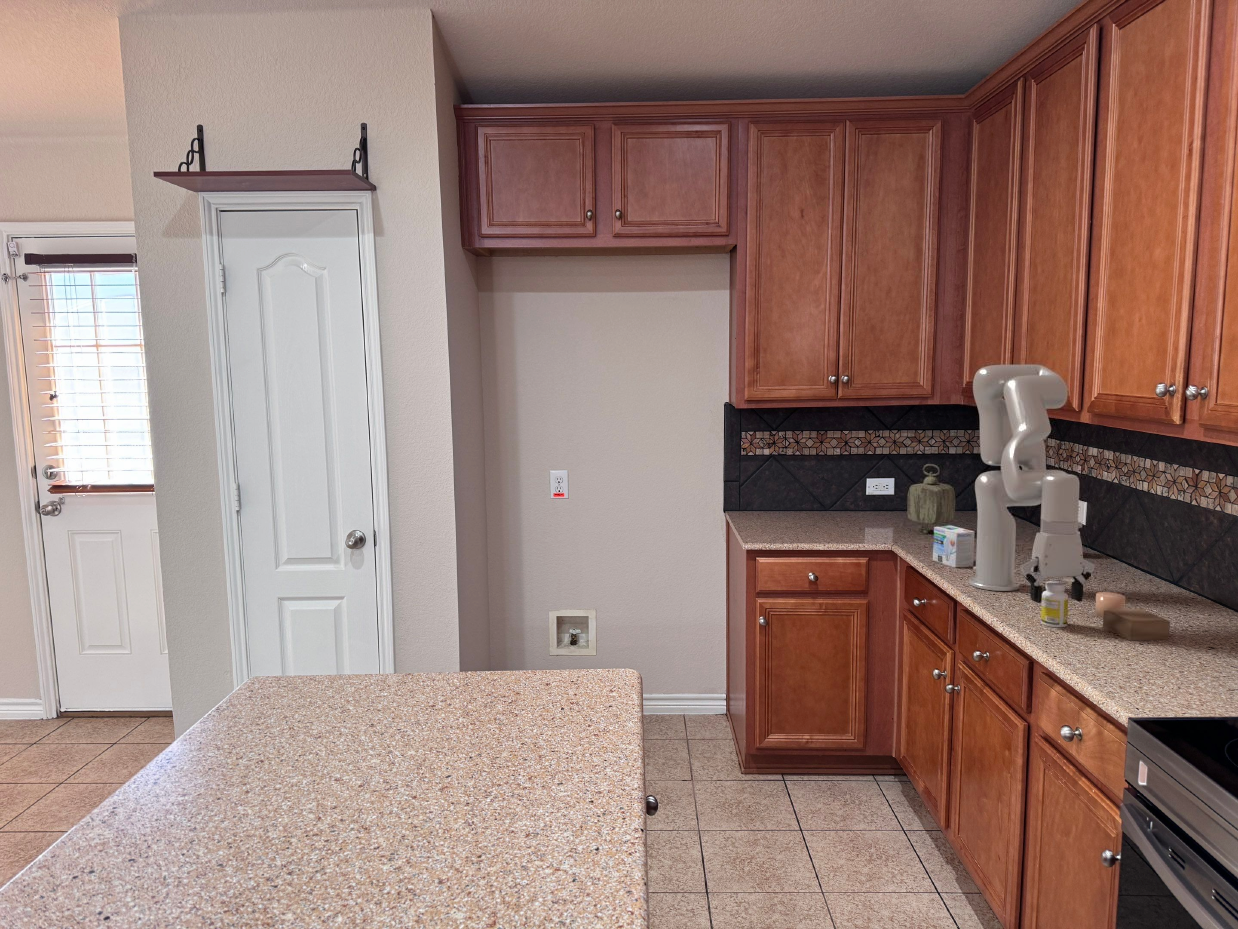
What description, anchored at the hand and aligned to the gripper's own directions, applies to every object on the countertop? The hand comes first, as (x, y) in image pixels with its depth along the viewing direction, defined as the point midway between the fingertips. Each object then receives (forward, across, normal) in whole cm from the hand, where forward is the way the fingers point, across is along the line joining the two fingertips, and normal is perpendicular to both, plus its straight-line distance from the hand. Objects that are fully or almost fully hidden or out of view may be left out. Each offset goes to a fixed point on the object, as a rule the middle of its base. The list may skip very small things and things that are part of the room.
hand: (1056, 600), depth 190 cm
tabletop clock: (+3, -18, -106) cm, 107 cm away
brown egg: (+6, -17, -6) cm, 19 cm away
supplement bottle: (+6, 0, -1) cm, 6 cm away
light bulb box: (+4, -5, -61) cm, 61 cm away
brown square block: (+6, -14, +7) cm, 17 cm away
